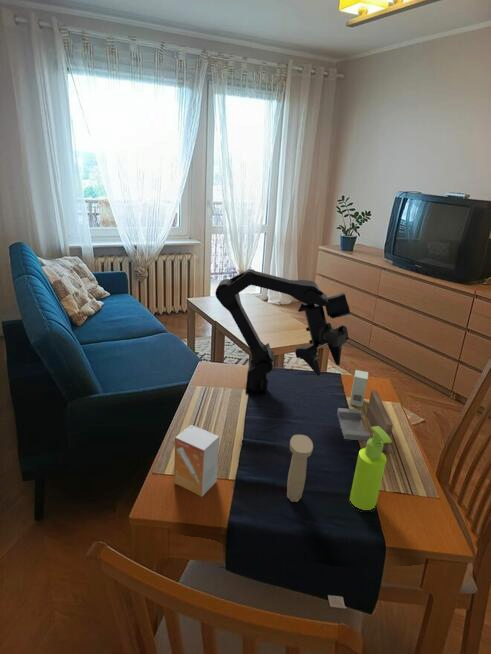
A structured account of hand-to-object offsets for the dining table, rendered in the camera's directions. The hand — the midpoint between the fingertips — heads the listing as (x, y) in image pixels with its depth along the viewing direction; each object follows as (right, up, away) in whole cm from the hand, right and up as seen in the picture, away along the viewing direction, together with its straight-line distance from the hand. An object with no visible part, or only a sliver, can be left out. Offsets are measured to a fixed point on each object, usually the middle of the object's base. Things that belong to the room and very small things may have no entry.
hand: (328, 370), depth 137 cm
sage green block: (+10, -11, +6) cm, 16 cm away
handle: (-15, -26, -36) cm, 47 cm away
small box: (-38, -23, -34) cm, 56 cm away
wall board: (+12, -17, -10) cm, 23 cm away
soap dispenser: (+1, -27, -36) cm, 45 cm away
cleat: (+6, -16, -8) cm, 19 cm away
